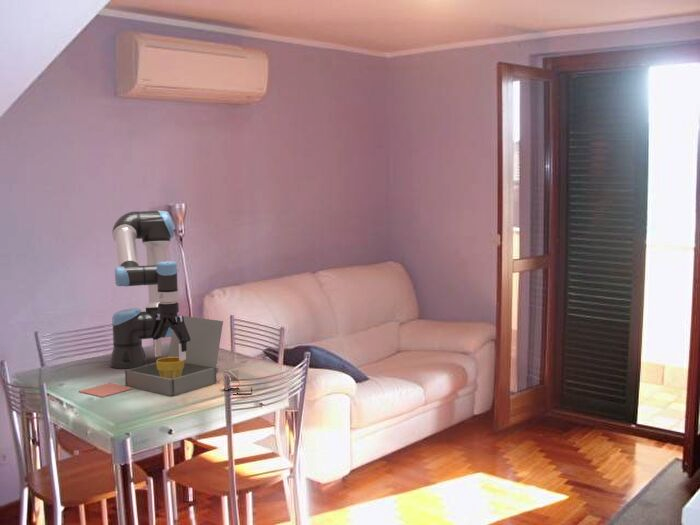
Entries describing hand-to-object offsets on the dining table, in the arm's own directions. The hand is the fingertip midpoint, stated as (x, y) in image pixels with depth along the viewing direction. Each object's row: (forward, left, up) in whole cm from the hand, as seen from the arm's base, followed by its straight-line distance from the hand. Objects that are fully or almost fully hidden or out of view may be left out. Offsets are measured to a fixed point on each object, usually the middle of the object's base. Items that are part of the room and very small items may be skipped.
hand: (170, 358), depth 296 cm
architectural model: (+24, +8, -11) cm, 27 cm away
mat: (-14, -19, -10) cm, 26 cm away
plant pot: (0, 0, -11) cm, 11 cm away
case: (0, 0, -10) cm, 10 cm away
